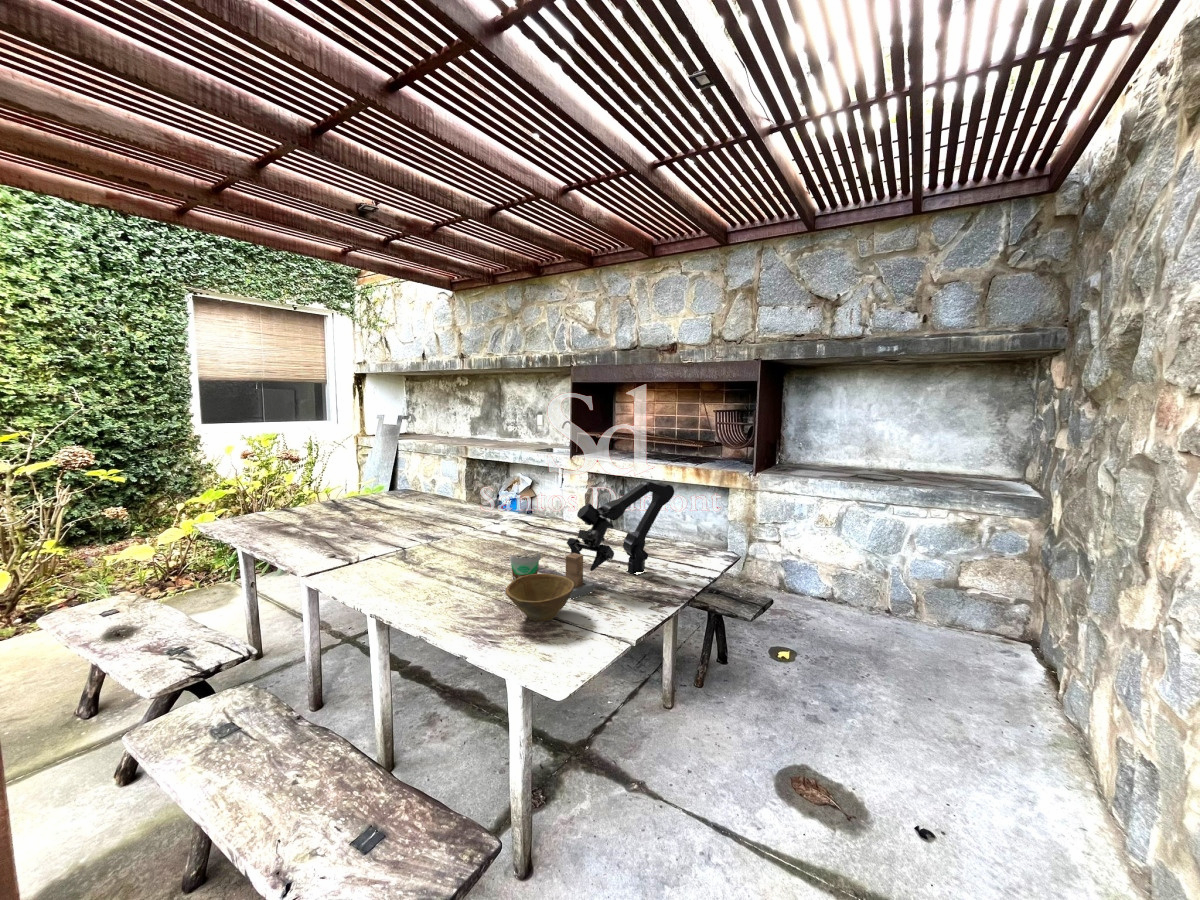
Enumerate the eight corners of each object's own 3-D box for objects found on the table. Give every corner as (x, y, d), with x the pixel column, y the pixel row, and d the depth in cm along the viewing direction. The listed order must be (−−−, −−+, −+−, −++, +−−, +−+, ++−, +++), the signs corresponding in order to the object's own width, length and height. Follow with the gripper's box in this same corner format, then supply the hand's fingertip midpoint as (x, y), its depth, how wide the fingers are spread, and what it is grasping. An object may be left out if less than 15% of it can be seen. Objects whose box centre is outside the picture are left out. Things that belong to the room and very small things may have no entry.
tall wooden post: (573, 586, 183) (573, 552, 181) (582, 589, 180) (583, 555, 179) (565, 590, 179) (565, 556, 178) (575, 593, 177) (575, 558, 175)
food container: (510, 585, 185) (510, 559, 184) (509, 579, 191) (508, 554, 190) (543, 582, 188) (543, 557, 187) (540, 576, 194) (540, 552, 193)
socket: (576, 584, 187) (576, 576, 186) (593, 592, 179) (593, 584, 179) (555, 590, 180) (555, 583, 180) (571, 599, 173) (571, 591, 172)
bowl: (492, 614, 160) (491, 585, 159) (547, 595, 176) (547, 568, 175) (532, 638, 145) (532, 606, 144) (589, 615, 161) (589, 585, 160)
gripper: (569, 517, 189) (551, 552, 182) (610, 524, 179) (592, 562, 171) (581, 532, 197) (564, 567, 189) (621, 540, 186) (605, 577, 179)
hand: (580, 568), depth 182 cm, fingers open, 9 cm apart
